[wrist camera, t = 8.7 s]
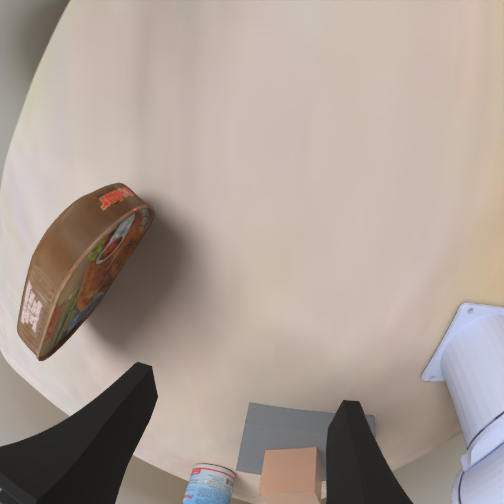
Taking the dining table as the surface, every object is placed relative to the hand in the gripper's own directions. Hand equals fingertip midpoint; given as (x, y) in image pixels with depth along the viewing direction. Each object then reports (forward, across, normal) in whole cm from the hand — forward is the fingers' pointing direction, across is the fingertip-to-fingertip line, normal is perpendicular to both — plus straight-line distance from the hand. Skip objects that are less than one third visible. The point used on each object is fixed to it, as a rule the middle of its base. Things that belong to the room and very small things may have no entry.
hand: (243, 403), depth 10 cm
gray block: (+10, -6, +20) cm, 23 cm away
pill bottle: (+10, +3, +34) cm, 36 cm away
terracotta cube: (+8, -6, +20) cm, 22 cm away
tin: (+10, +12, +1) cm, 16 cm away
